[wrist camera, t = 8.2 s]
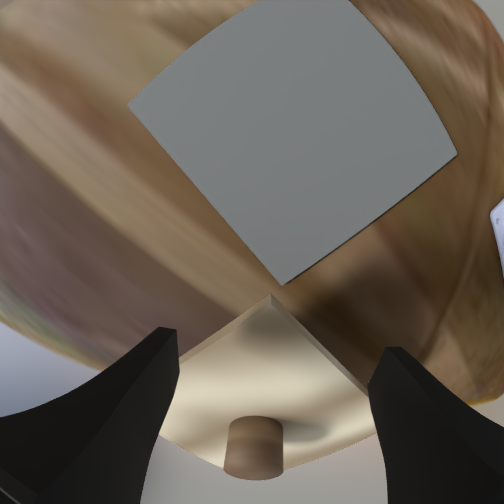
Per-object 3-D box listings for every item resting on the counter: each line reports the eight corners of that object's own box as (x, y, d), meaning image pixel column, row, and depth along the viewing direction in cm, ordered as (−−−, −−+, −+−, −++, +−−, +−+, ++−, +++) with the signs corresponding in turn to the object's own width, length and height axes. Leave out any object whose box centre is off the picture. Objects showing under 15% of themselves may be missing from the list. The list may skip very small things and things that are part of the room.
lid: (392, 414, 15) (406, 457, 11) (249, 471, 18) (246, 507, 15) (270, 293, 12) (270, 355, 8) (118, 396, 15) (98, 438, 12)
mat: (454, 153, 15) (457, 153, 14) (281, 283, 19) (281, 285, 19) (315, -25, 11) (316, -28, 11) (129, 106, 15) (127, 105, 15)
